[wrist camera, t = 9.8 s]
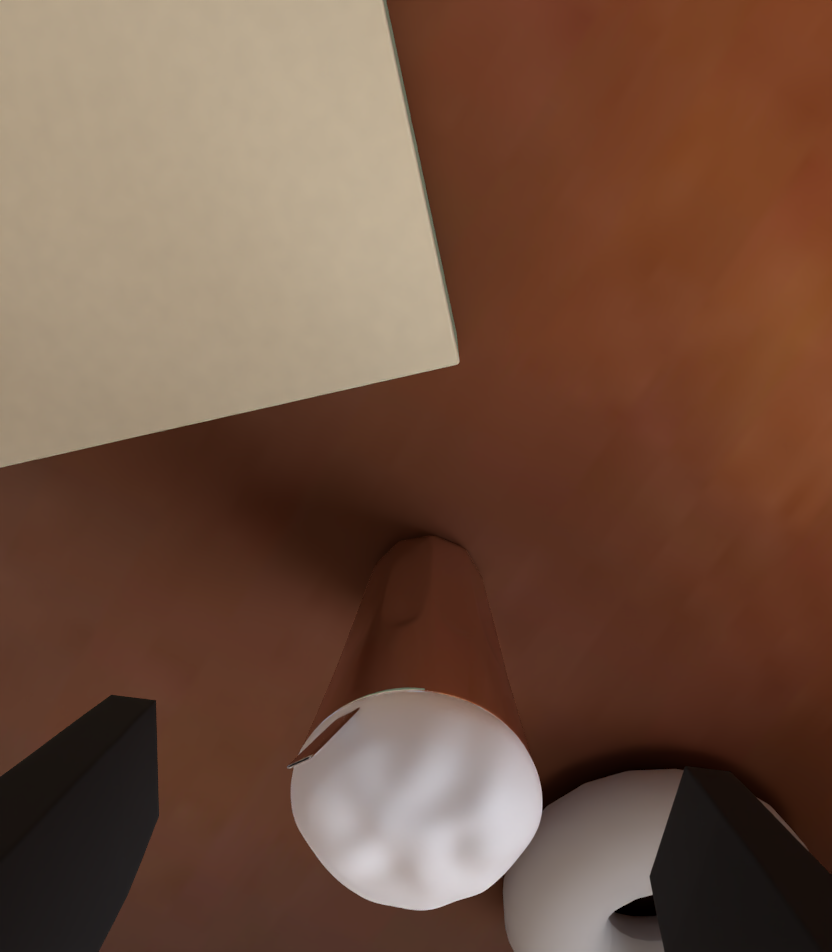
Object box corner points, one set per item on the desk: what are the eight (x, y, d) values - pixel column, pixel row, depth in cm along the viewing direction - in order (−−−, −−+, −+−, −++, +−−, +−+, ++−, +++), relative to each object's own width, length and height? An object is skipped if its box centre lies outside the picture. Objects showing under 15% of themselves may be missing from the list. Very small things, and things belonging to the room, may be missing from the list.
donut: (851, 848, 22) (647, 691, 20) (921, 952, 19) (687, 777, 17) (636, 991, 25) (438, 866, 23) (666, 1103, 22) (439, 969, 20)
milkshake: (443, 462, 18) (440, 698, 9) (530, 610, 20) (607, 949, 10) (306, 534, 19) (172, 818, 10) (399, 670, 21) (360, 1031, 11)
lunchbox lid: (-131, 493, 15) (-154, 502, 15) (-444, -81, 12) (-489, -98, 11) (459, 359, 14) (459, 364, 13) (307, -359, 10) (298, -394, 9)
